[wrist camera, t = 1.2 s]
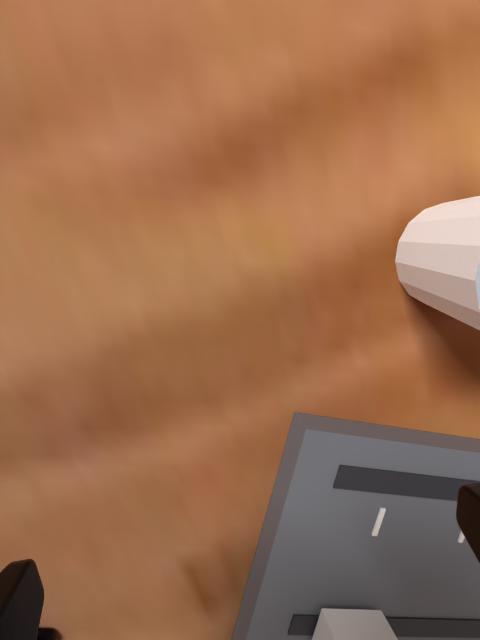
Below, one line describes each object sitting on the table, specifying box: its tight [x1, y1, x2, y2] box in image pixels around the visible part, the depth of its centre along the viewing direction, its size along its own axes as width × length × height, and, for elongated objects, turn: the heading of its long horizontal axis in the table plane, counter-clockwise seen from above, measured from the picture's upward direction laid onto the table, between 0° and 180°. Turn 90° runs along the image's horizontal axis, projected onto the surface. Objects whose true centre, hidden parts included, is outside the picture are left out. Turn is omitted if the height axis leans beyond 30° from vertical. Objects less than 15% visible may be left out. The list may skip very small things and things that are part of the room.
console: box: [231, 413, 480, 640], centre depth 27 cm, size 17×24×2 cm
